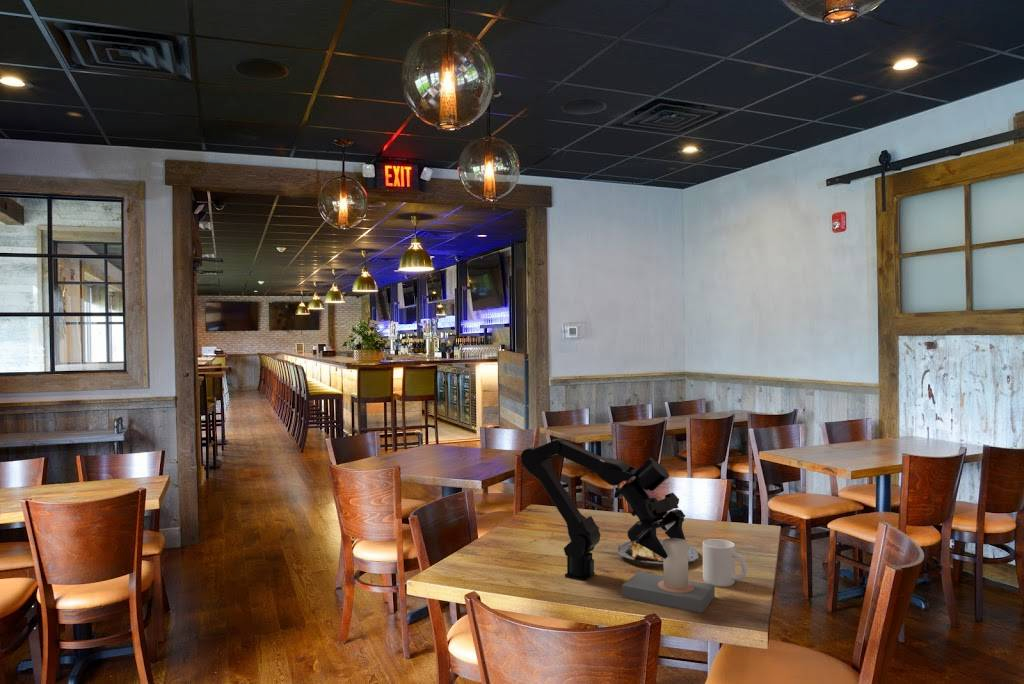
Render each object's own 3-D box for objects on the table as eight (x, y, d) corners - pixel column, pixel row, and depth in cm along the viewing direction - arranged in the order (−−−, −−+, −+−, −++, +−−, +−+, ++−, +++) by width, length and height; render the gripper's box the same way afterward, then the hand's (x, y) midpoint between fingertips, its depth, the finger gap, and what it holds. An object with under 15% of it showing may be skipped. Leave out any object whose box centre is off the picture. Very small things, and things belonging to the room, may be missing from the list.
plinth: (622, 597, 170) (621, 584, 170) (638, 582, 181) (638, 570, 181) (701, 613, 160) (701, 599, 160) (714, 596, 170) (714, 584, 170)
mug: (754, 585, 178) (753, 546, 178) (739, 593, 173) (739, 553, 173) (712, 574, 187) (712, 537, 187) (697, 581, 181) (696, 543, 181)
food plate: (700, 572, 188) (700, 560, 188) (616, 568, 193) (616, 556, 193) (695, 548, 213) (695, 537, 213) (620, 545, 217) (620, 534, 217)
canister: (660, 587, 168) (659, 542, 169) (668, 579, 174) (667, 536, 174) (684, 591, 165) (683, 546, 165) (691, 583, 170) (690, 540, 171)
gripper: (637, 489, 166) (675, 543, 158) (678, 478, 179) (716, 528, 171) (611, 515, 172) (647, 569, 164) (653, 503, 185) (689, 552, 177)
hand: (676, 553), depth 169 cm, fingers open, 9 cm apart
